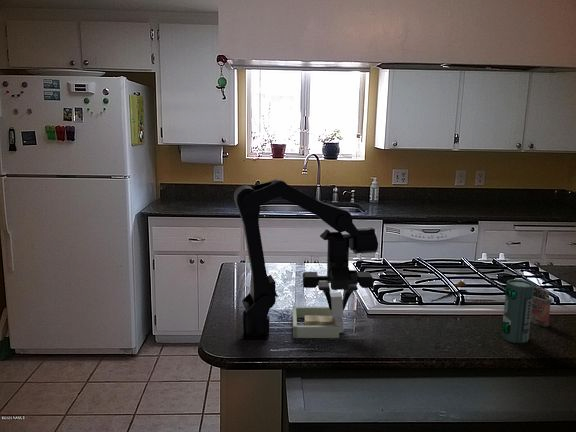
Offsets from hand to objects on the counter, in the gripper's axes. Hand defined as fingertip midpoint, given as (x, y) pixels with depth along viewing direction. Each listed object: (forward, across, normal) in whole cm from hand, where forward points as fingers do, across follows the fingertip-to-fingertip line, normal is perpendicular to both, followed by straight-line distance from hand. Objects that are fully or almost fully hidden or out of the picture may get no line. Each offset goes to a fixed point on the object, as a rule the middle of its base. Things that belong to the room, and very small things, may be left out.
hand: (336, 309), depth 129 cm
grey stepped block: (+5, 0, 0) cm, 5 cm away
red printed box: (+5, +57, +4) cm, 57 cm away
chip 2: (+5, -3, 0) cm, 6 cm away
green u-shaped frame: (+5, -6, 0) cm, 7 cm away
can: (+5, +46, -7) cm, 47 cm away
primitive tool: (+6, +38, +24) cm, 45 cm away
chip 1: (+5, -7, 0) cm, 8 cm away
